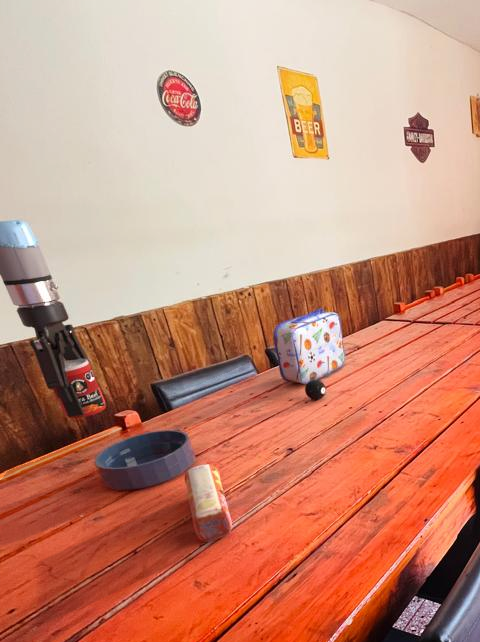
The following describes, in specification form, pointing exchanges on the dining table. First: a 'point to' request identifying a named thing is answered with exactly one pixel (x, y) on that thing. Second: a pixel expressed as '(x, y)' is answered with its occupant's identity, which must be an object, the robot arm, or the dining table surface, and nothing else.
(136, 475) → the bowl
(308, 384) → the billiard ball
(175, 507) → the dining table surface
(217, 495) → the snack package
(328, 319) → the lunch box
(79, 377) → the canned food
